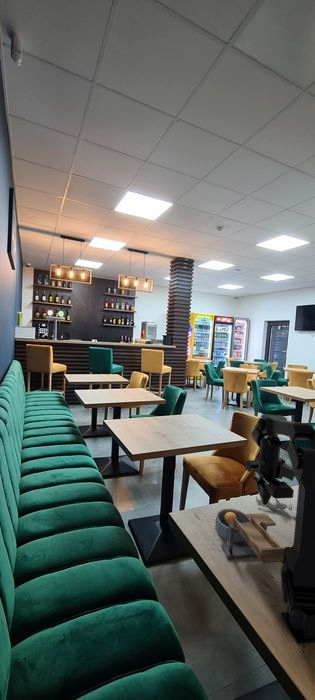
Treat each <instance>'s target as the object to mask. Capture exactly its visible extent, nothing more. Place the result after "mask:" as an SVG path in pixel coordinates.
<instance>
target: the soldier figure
mask: <svg viewBox="0 0 315 700" xmlns="http://www.w3.org/2000/svg"><path fill="white" fill-rule="evenodd" d="M255 500H256V503H257V505H264V504H263V503H262V500H261V499H259V498H258V496H255ZM274 500H275V502H273V503H272V502H271V501H269V502H268V504H267V505H266V506H267V507H268V508H269V509H271V510H272V511H277V510H287V509H288V510H289V511H292V510H293V505H292V502H291V501H290V502H289V503H287V504H286V503H284V502H280V501H279V500H278V498H274Z"/></svg>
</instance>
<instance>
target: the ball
mask: <svg viewBox="0 0 315 700" xmlns="http://www.w3.org/2000/svg"><path fill="white" fill-rule="evenodd" d="M234 518H236V519H237V517H236V515H235V514H234V513H232V512H228V513H226V515H225V522H226V523H227V524H228V525H229V523H232V524H233V525H234V523H233V519H234Z"/></svg>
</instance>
